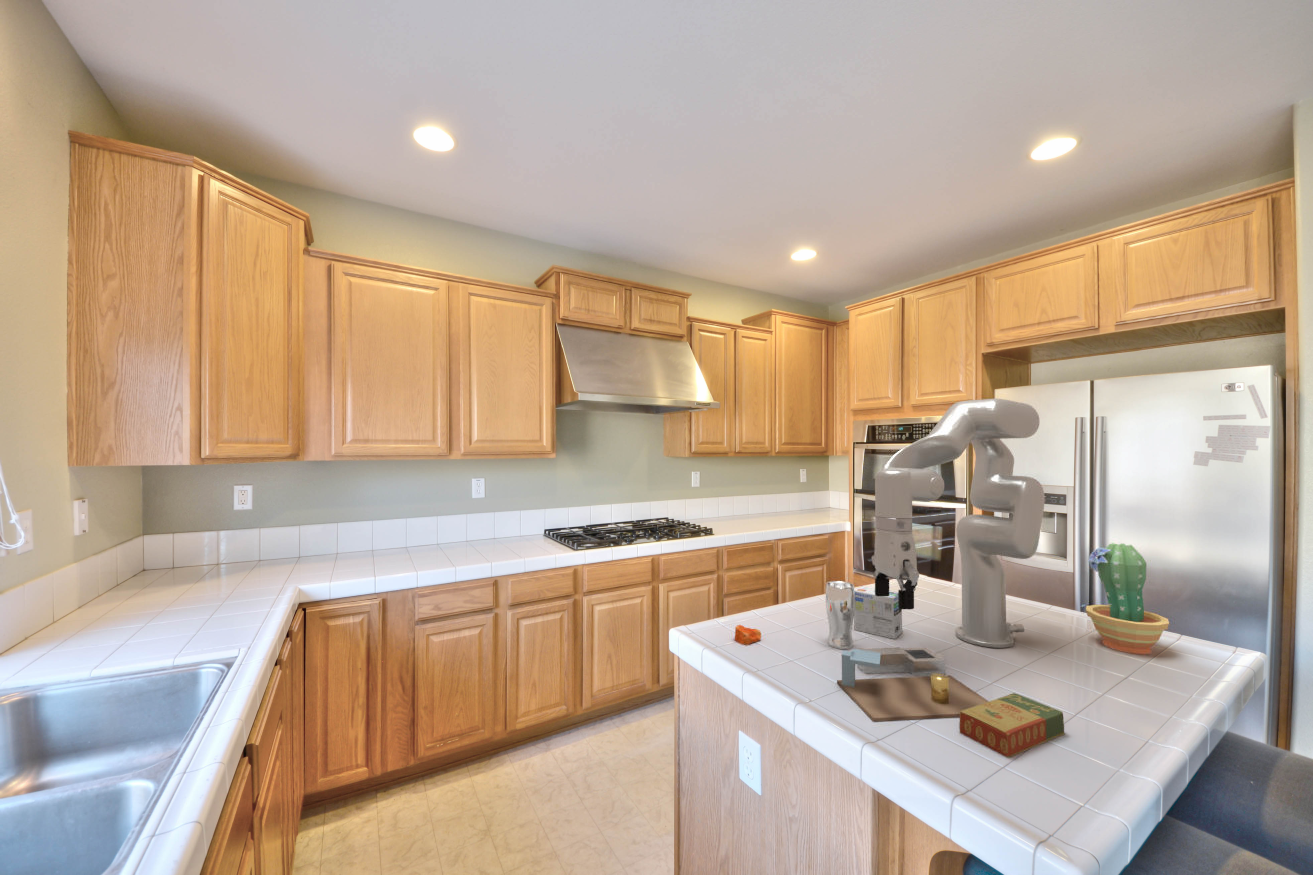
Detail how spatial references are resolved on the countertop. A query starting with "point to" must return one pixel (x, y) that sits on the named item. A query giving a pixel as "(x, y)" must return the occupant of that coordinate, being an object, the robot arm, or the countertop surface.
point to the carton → (1011, 724)
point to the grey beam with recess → (906, 661)
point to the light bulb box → (877, 613)
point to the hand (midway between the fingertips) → (893, 602)
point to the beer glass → (840, 613)
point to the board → (909, 698)
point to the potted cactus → (1124, 601)
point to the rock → (746, 635)
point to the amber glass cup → (939, 688)
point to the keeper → (857, 663)
